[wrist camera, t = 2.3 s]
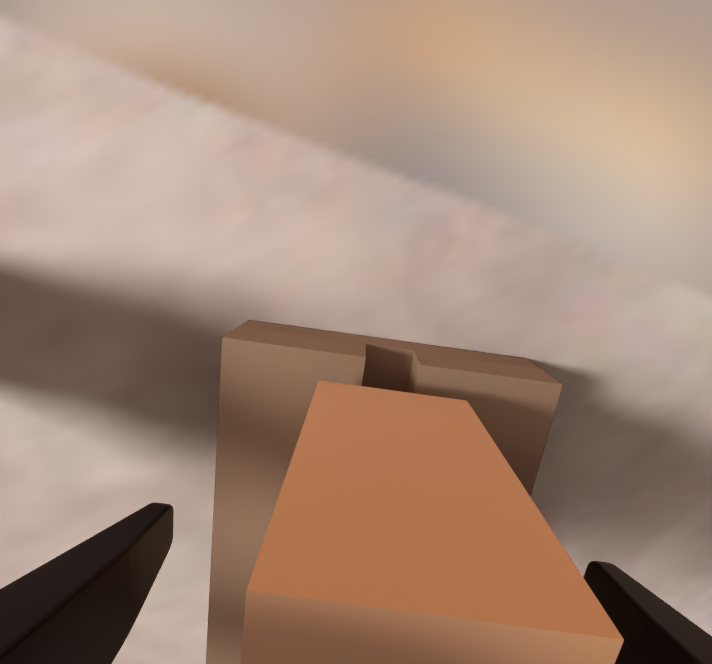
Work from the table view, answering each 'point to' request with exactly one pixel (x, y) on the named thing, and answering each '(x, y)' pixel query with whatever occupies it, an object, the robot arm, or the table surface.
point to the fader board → (290, 407)
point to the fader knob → (412, 547)
